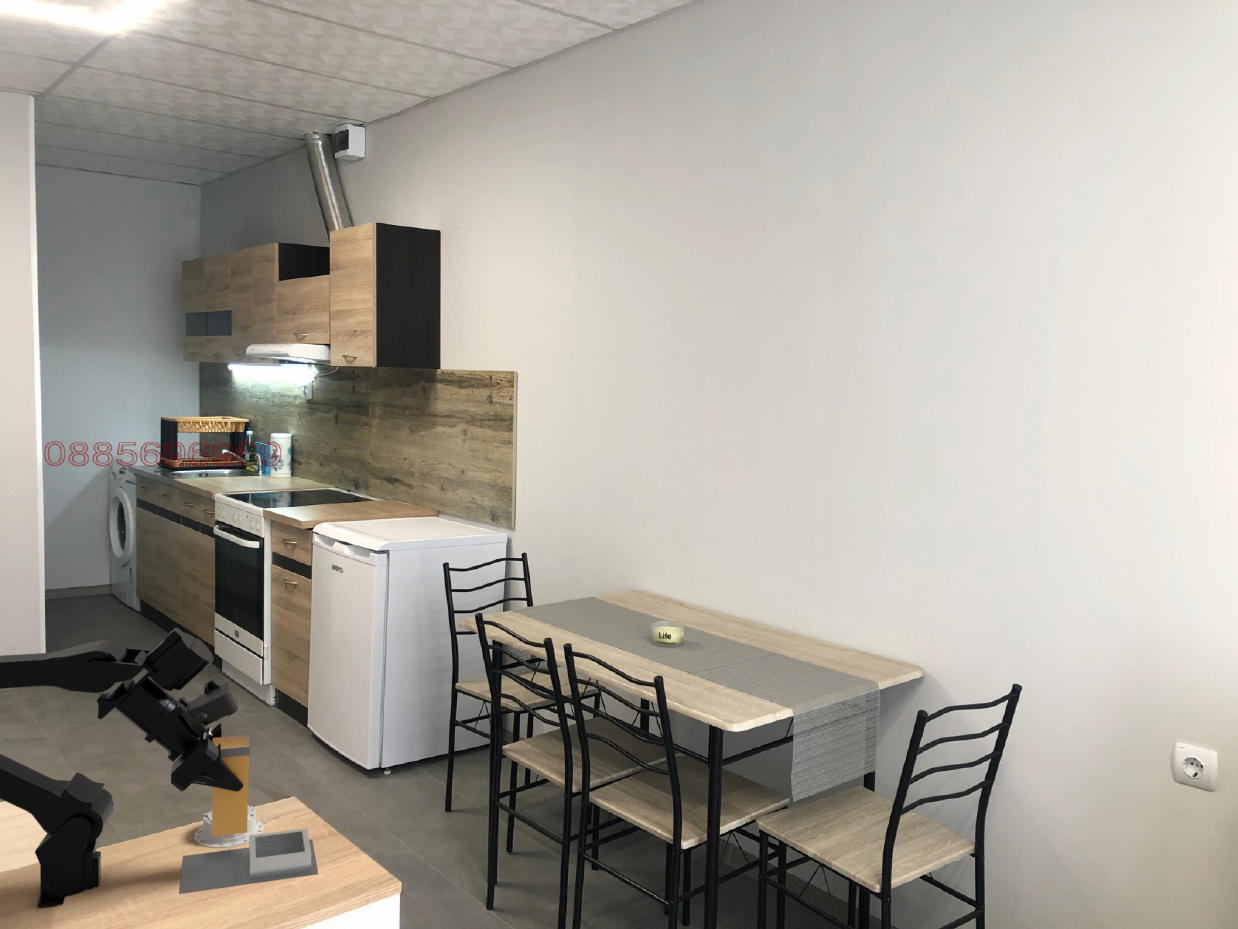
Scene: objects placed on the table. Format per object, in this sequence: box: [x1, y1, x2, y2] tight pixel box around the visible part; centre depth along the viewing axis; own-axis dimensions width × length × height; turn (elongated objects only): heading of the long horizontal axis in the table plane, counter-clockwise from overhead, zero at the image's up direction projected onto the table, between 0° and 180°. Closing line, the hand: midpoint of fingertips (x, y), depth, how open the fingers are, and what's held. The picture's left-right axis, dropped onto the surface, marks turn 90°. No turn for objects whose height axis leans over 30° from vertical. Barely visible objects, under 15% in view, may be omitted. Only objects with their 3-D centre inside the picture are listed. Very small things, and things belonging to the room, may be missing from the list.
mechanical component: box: [194, 804, 265, 849], centre depth 146 cm, size 10×4×10 cm
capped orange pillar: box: [211, 734, 251, 837], centre depth 134 cm, size 5×5×12 cm
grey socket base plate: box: [179, 827, 319, 895], centre depth 136 cm, size 18×11×4 cm, turn 112°
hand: (241, 781), depth 135 cm, fingers closed on capped orange pillar, 5 cm apart
